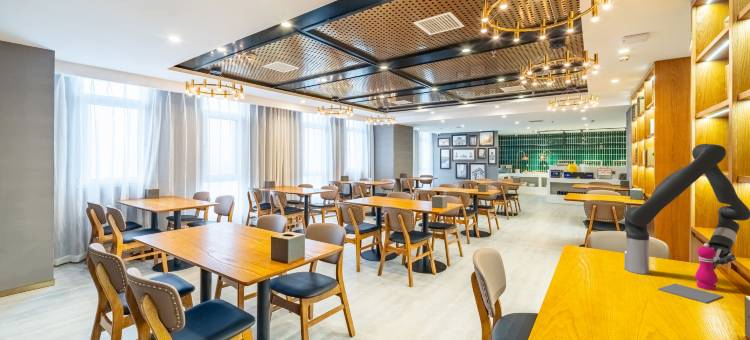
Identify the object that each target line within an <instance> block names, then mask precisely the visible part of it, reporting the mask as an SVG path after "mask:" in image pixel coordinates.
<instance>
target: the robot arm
mask: <svg viewBox="0 0 750 340" xmlns="http://www.w3.org/2000/svg"><path fill="white" fill-rule="evenodd" d="M691 154H692V158H693V159H694V160H692V161H691V162H690V163H688V165H685V166H683V167H682V168H680V169H678V170H676V171H674V172H672V173H670V174H669V175H667V176H666V177H665V178H664V179H663V180H662V181H661V182H659V183H658V184H657V186H656V187H655V188H654V190H653V191H652V193H651V195H650V197H649V198H648V199H646V201H645V202H643V203H642V204H641V205H640V206H631V207H629V208H628V209H627V210H626V211H625V212H624V213H625V214H624V229H625V235H626V238H625V239H626V241H625V242H626V247H625V248H626V250H625V251H624V254H623V255H624V259H623V261H624V262H623V263H624V264H623V265H624V266H623V267H624V270H626V271H627V272H630V273H634V274H638V275H647V274H650V234H649V231H648V229H647V228H648V227H647V226H648V225H649V224H650V223H651V222H652V221H653V220H654V219H655V217H656V216H657V215H658V214H659V213H660V212H661V211H662V210H663V209H664V208H666V207H667V206H668V205H669V204H671V203H672V202H673V201H674V200H675V199H677V198H678V197H679V196H680V195H682V193H684V192H685V191H686V190H687V189H688V188H690V187H691V186H692V184H694V183H695V182H696V181H698V180H699V178H701V177H702V176H703V175H704V176H705V177H706V179H707V180H708V182H709V185H710V187H711V189H712V191H713V193H714V195H715V197H716V200H717V201H718V202H719V203H720V204H725V205H726V206H725V205H723V206H720V208H718V210H717V216H718V219H717V225H716V227H715V230H714V231H713V232H712V234H711V236H710V239H709V241H708V243H707V244H709V247H710V248H712V249H714V250H715V252H716V256H715V257H714V262H713V269H714V271H715V270H716V269H717V266H718V265H721V266H722V265H723V266H724V265H726V264H728V263H731V262H734V261H735V260H737V258H736V256H735V254H732V252H731V251H732V249H733V246H734V244H735V242H736V239H737V235H738V233H739V230H740V224H739V223H738V222H737V221H742V222H743V221H748V220H749V219H750V209H749V207H748V206H747V205H746V204H745V203H744V202H743V201H742V199H741V198H740V197H739V196H738V194H737V191H736V188H735V187H734V186H733V184H732V182H731V180H730V179H729V178H728V176H726V175H725V174H724V173H723V171H722V170H721V168H720V167H719V165H718V164H719V163H721V162H722V161H723V160H724V159H725V158H726V155H727V150H726V148H725V147H724V146H722V145H719V144H712V143H700V144H697V145H696V146H694V147H693V149H692V150H691Z"/></svg>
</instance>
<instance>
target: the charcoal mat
mask: <svg viewBox="0 0 750 340" xmlns="http://www.w3.org/2000/svg"><path fill="white" fill-rule="evenodd" d="M658 291H661V292H665V293H668V294H671V295H675V296H679V297H682V298H685V299H689V300H693V301H696V302H700V303H703V304H709V303H711V302H714V301H717V300H719V299H723V298H724V295H721V294H717V293H714V292H710V291H707V290H704V289H700V288H699V289H698V288H695V287H691V286H686V285H683V284H679V283H672V284H668V285H665V286H662V287H659V288H658Z"/></svg>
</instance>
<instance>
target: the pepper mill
mask: <svg viewBox="0 0 750 340" xmlns="http://www.w3.org/2000/svg"><path fill="white" fill-rule="evenodd" d="M696 253H697V256H698V260H699V266H698V268H697V270H696V272H695V274H694V275H695V276H694V278H695V279H696V287H698V288H699V289H701V290H706V291H707V290H708V291H715V290H717V285H716V283H718V282H719V278H718V275H717V273H716V271H715V270H714V269H713V262H714V257H715V256H716V252H715V250H714V249H712V248H710V247H709V244H708V243H707V242H705V243H704V244H703V246H700V247H698V248H697V250H696Z"/></svg>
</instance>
